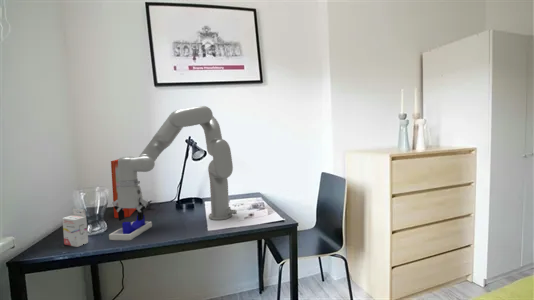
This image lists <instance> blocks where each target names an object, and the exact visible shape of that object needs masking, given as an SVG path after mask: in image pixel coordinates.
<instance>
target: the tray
mask: <svg viewBox="0 0 534 300" xmlns="http://www.w3.org/2000/svg"><path fill="white" fill-rule="evenodd" d="M130 222H131V221H130ZM133 222H134V221H132V222H131V225H132V223H133ZM152 227H153V222H152V221H145V225H144V226H142V227H140V228H139V229H137V230H135V231H134V232H132V233H130V234H123V227H120V228H118V229H117V230H115V231H113V232H111V233H109V234H108V238H109V239H108V240H109V241H132V240H133V239H135V238H137V237H138V236H140V235H141V234H143V233H144V232H146V231H148V230H149V229H151V228H152Z"/></svg>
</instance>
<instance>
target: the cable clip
mask: <svg viewBox="0 0 534 300" xmlns="http://www.w3.org/2000/svg"><path fill="white" fill-rule="evenodd" d="M132 222H133V223H132V225H131V221H123V222H122V223H121V225H122V227H123V234H130V233H132V232H134V231H135V230H137V229H139V228H140V227H142V226H144V225H145V222H146V219H145V216H144V217H143V219H142V220H140V221H138V214H137V215H136V220H135V221H132ZM122 227H121V228H122Z"/></svg>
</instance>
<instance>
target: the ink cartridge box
mask: <svg viewBox="0 0 534 300" xmlns="http://www.w3.org/2000/svg"><path fill="white" fill-rule="evenodd" d="M71 210H72V215H68V216H65V217H62V218H61V220H62V231H63V232H62V233H63V244H64V245H65V246H70V247H75V248H79V247H80V246H84V245H85V244H88V243H89V234H88V222H87V216H86V215H87V214H86V209H82V208H73V207H72V209H71ZM83 244H84V245H83Z"/></svg>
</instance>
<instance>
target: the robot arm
mask: <svg viewBox="0 0 534 300" xmlns="http://www.w3.org/2000/svg"><path fill="white" fill-rule="evenodd" d="M197 125H199V126H200V127H202V129H203V132H204V136H205V143H206V144H205V145H206V150H207V151H206V152H207V153H208V154H209V155H210V156H212V160H211V161H210V162H209V164H208V167H207V171H208V178H209V186H210V187H209V190H210V191H209V192H210V210H211V211H210V212H211V213H209V215H208V219H210V220H214V221H223V220H227V219H230V218H232V216H233V215H237V213H238V212H237V210H236V209H232V208H231V206H230V204H229V203H230V201H229V183H228V182H229V181H228V180H229V179H228V178H229V177H231V175H232V173H233V170H234V167H233V158H232V151H231V150H232V149H231V147H230V145H229V142H227V141H226V140H225V139H223V137H222V131H221V127H220V126H221V125H220V124H219V122H218V120H217V118H216V117H214V114H213V111H212V109H211V108H209V106H205V105H200V106H195V107H187V108H182V109H177V110H176V109H175V110H173V111H172V112H171V113H170V114H169V116H168V117H167V118H166V119H165V121H164V122H163V124H162V125H161V126H160V127H159V128H158V130H157V131H156V132H155V134H154V136H152V139H151V140H150V141H149V143H148V144H147V145H146V147H145V148H144V149H143V150H142V152H141V153H140V154H139V156H138V157H137V156H136V157H135V156H122V157H119V158H118V170H119V184H120V187H119V189H118V200H116V201H114V202H113V201H112V203H111V204H112V206H113V209H114V208H115V209H116V210H117V212H118V218H117V219H118V221H120V222H121V221H122V220H124V219H125V218H126V217H124V210H123V209H124V208H136V210H137V215H138V221H140V220H142V219H143V217H145V214H144V211H145V210H146V209H147V206H148V204H149V202H148V201H147V200H145V199H144V198H143V192H142V189H141V186H140V183H141V182H140V180H138V172H139V173H142V172H143V173H147V172H150V171H152V170H153V169H154V168H155V166H156V165H155V163H156V160H157V159H158V158H159V156H160V155H161V154H162V152H164V150H166V149H167V148H168V147H170V146H171V145H172V144H173V142H174V141H175V139H176V138H177V137H178V135H179V134H180V132H181V131H182V130H183V129H184V128H187V127H193V126H197ZM117 203H118V204H117ZM231 215H232V216H231Z"/></svg>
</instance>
